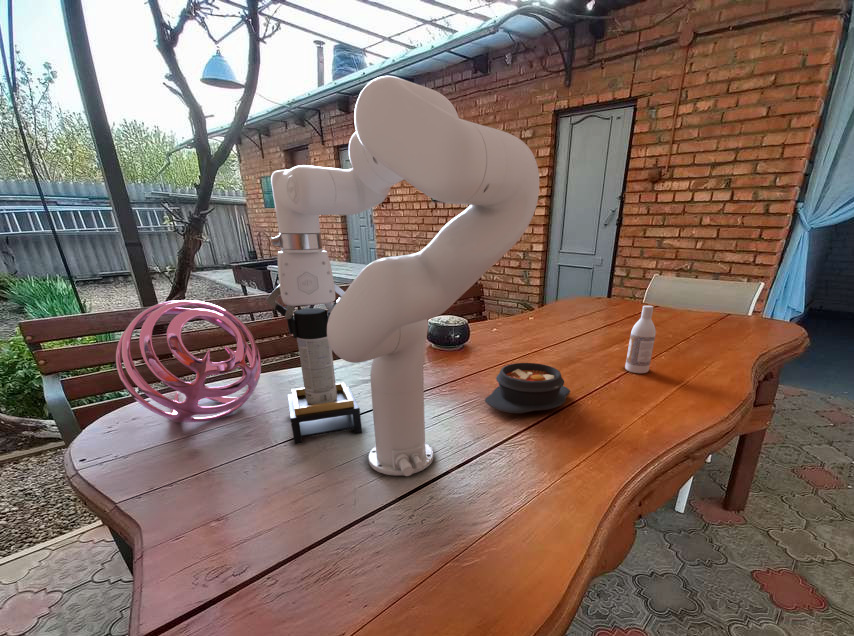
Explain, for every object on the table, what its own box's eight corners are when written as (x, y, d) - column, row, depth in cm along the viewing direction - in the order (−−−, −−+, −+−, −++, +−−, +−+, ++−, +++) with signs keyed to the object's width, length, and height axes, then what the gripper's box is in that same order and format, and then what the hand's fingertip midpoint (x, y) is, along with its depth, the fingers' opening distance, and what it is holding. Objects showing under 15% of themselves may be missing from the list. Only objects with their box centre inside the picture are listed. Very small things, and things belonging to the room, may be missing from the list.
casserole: (524, 428, 95) (527, 394, 92) (468, 404, 108) (468, 372, 105) (586, 400, 111) (590, 369, 107) (530, 381, 123) (532, 353, 120)
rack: (362, 432, 93) (359, 401, 90) (294, 444, 88) (289, 411, 85) (350, 408, 105) (348, 380, 102) (291, 417, 100) (286, 388, 97)
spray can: (342, 395, 97) (332, 307, 89) (331, 407, 91) (319, 314, 83) (314, 394, 98) (301, 307, 90) (301, 406, 92) (286, 313, 84)
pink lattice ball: (101, 327, 99) (119, 265, 81) (229, 335, 119) (267, 287, 101) (115, 443, 94) (137, 404, 76) (247, 430, 114) (289, 397, 96)
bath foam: (624, 365, 137) (635, 303, 129) (647, 368, 135) (660, 304, 127) (624, 372, 131) (635, 307, 123) (648, 375, 129) (661, 309, 121)
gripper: (251, 245, 75) (268, 343, 82) (350, 244, 81) (358, 335, 88) (252, 243, 81) (268, 334, 88) (344, 242, 88) (352, 327, 95)
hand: (313, 334), depth 88 cm, fingers closed on spray can, 6 cm apart
